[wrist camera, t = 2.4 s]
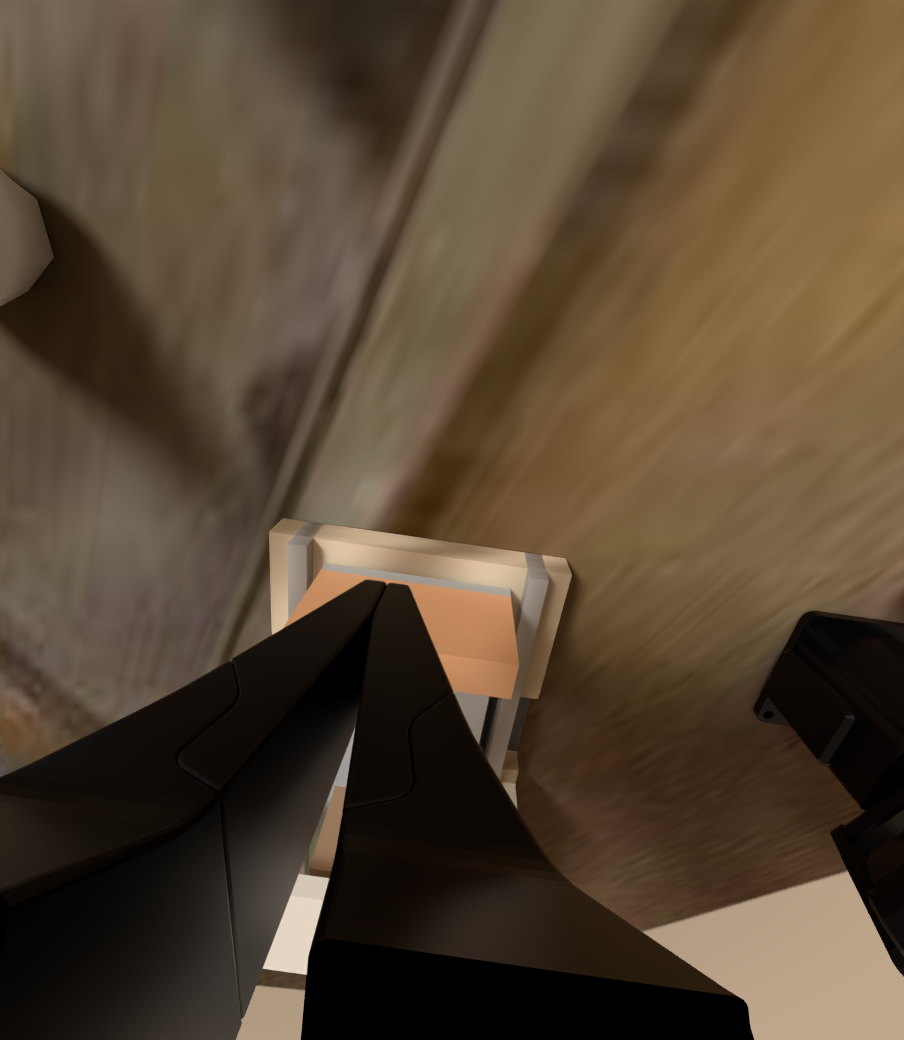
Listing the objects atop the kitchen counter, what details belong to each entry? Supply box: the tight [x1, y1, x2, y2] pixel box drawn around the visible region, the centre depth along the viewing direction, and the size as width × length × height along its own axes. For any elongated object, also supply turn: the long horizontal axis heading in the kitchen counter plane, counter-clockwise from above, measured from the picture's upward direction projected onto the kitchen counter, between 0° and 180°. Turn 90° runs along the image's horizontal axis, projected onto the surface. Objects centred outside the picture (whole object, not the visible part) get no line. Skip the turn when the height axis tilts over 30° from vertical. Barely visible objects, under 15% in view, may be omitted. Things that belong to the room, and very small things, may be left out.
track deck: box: [269, 518, 572, 875], centre depth 25 cm, size 13×26×2 cm, turn 172°
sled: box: [283, 563, 519, 878], centre depth 21 cm, size 8×18×5 cm, turn 172°
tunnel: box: [263, 782, 517, 975], centre depth 23 cm, size 13×6×6 cm, turn 82°
